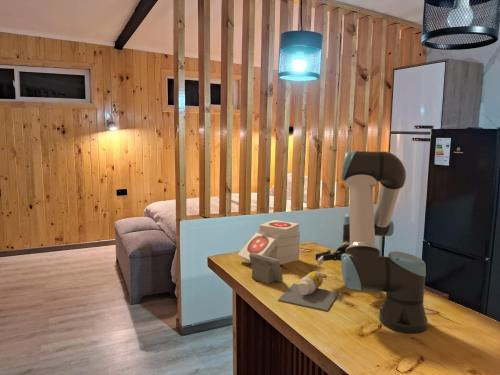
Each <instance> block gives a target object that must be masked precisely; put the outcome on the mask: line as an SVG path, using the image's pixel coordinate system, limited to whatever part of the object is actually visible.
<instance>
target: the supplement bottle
mask: <svg viewBox="0 0 500 375" xmlns="http://www.w3.org/2000/svg"><path fill="white" fill-rule="evenodd" d="M323 278H324V277H323V276H322V275H321V273H319V272H318V271H313V270H312V271H311V272H309V273H308V274H306V275H305V276H303V277H302V278H301V279H300V280H299V282H298V284H299V285H298V291H299V292H300V293H301V294H302V295H306V294H311V293H313V292H314V291H315V290H316V289H317V288H320V287H321V286H322V284H323V282H324V279H323Z"/></svg>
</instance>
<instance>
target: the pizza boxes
mask: <svg viewBox="0 0 500 375" xmlns="http://www.w3.org/2000/svg"><path fill="white" fill-rule="evenodd" d="M300 238H301V231H300V223H298V222H297V223H296V222H290V221H283V220H276V219H272V220H270V221H267V222H264V223H261V224H259V228H258V232H255V233H254V234H253V236H252V237H251V238H250V239H249V240H248V242H247V243H246V244H245V245H244V246H243V247H242V248H241V250H240V251H239V252H238V253H237V256H238V257H239V258H240V259H241V260H243V261H246V262H248V263H250V264H251V261H250V257H249V255H250V253H256V254H259V255H263V256H267V257H270V258H274V259H277V260H279V263H280V265H283V264H287V263H293V262H297V261H299V260H300V246H301V244H300V243H301V242H300V241H301V240H300Z"/></svg>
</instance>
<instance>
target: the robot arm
mask: <svg viewBox="0 0 500 375" xmlns="http://www.w3.org/2000/svg"><path fill="white" fill-rule="evenodd" d="M340 178H341V179H340V180H341V181H344V184H345V186H346V187H347V188H348V191H349V192H348V193H349V194H348V195H349V197H348V201H349V204H348V205H349V206H348V207H349V209H348V210H349V212H348V213H345V214H344V216H343V222H342V223H343V225H342V242H341V244H340V245H339V247H338V248H336V251H334V252H332V250H331V249H329V250H327V251H323V252H319V253H316V254H315V261H316V267H318V268H319V267H320V266H322V264H323V263H324V262H328V261H339V262H341V266H340V267H341V275H342V280H343V284H344V286H345V287H346V288H347V289H350V290H357V291H369V292H380V293H381V292H382V293H385V298H384V300H383V302H382V306H381V308H380V309H379V313H378V314H379V315H378V320H379V322H380V323H381V324H383V326H385V327H387V328H389V329H391V330H393V331H397V332H399V333H405V334H419V333H422V332H425V331H426V330H427V328H428V317H427V315H426V311H425V306H424V297H425V296H424V295H425V286H426V285H425V284H426V276H427V274H426V273H427V269H426V265H427V264H426V263H425V261H424V260H423V259H422V258H420V257H418V256H415V255H413V254H410V253H406V252H403V251H389V253H388V254H387V256H382V255H381V250H380V249H379V248H378V247H377V246H376V238H375V237H376V236H377V237H378V236H379V237H391V236H393V234H394V230H395V226H394V225H395V224H394V221H393V219H392V217H393V214H394V210H395V207H396V204H397V202H398V201H397V200H398V197H399V194H400V191H401V189H402V188H403V187H404V186H405V183H406V178H407V171H406V168H405V165H404V164H403V162H402V161H401V159H400V158H398V156H396V155H395V154H394V153H392V152H389V151H383V150H382V151H369V150H367V151H364V150H363V151H359V150H349V151H347V152H345V153H344V159H343V165H342V171H341V177H340ZM378 182H379V184H380V187H379V190H378V194H377V195H378V196H377V200H376V203H375V206H374V191H373V190H374V189H373V188H374V187H375V186H376V185H377V183H378ZM374 207H375V208H374Z"/></svg>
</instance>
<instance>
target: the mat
mask: <svg viewBox="0 0 500 375" xmlns="http://www.w3.org/2000/svg"><path fill="white" fill-rule="evenodd" d="M298 285H299V283H298V284H297V283H293V284H292V285H291V286H290V287H288V289H286V290H285V292H284V293H283V294H281V296H280V297H279V298H278V299H277V301H278V302H283V303H286V304H291V305H296V306H301V307H305V308H311V309H315V310H319V311H324V312H328V311H329V309H330V308H331V306H333V303H334V302H335V300H336V299H337V297H338V295H339V294H340V292H339V291H335V290H328V289H325V288H320V287H319V288H317V289H316V290H315V291H314V292H313V293H311V294H306V295H302V294H301V293H300V292H299V291H298Z"/></svg>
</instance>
